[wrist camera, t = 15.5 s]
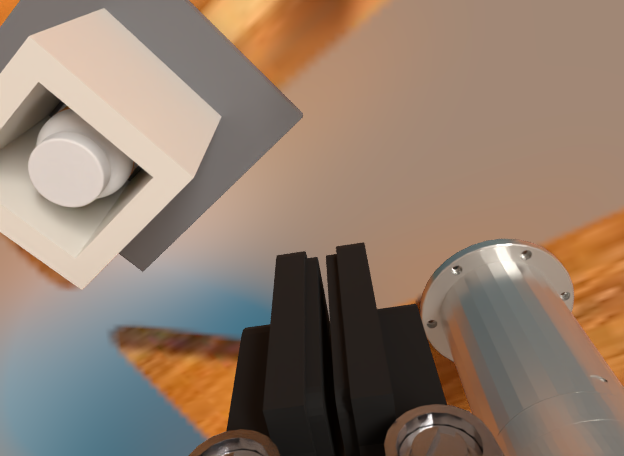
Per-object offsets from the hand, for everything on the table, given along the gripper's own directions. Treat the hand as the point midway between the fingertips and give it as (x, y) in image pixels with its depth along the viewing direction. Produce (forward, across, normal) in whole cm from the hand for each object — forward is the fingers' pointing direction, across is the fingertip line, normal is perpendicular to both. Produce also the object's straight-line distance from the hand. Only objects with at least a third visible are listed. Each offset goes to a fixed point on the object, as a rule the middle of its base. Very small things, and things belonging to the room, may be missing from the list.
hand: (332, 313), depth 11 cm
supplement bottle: (+29, +14, +3) cm, 32 cm away
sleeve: (+31, +14, +2) cm, 34 cm away
